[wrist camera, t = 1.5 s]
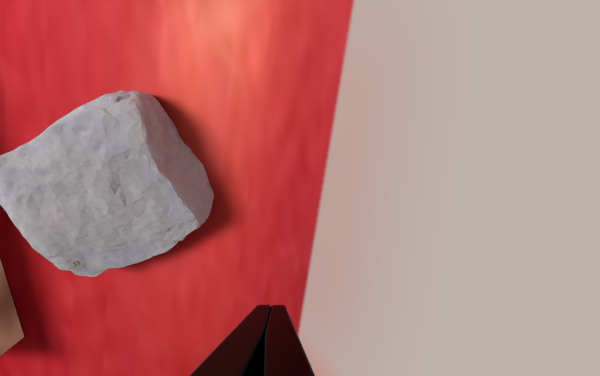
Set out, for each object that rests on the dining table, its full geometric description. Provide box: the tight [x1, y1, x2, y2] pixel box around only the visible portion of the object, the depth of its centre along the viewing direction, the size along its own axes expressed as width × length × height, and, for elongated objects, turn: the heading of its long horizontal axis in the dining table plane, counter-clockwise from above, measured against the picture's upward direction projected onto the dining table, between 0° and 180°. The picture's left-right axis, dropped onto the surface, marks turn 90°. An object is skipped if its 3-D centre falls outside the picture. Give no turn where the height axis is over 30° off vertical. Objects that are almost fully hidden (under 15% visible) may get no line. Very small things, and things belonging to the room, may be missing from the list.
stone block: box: [0, 90, 214, 277], centre depth 19 cm, size 12×5×10 cm
